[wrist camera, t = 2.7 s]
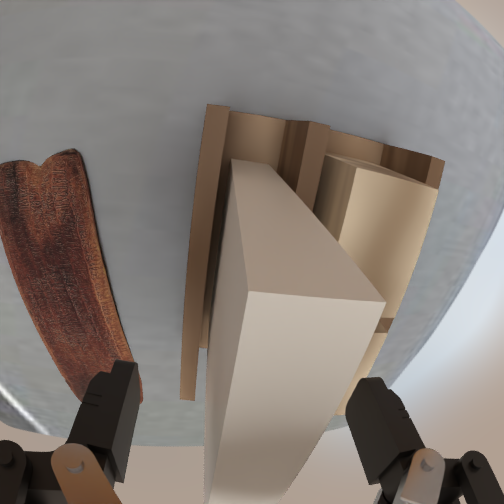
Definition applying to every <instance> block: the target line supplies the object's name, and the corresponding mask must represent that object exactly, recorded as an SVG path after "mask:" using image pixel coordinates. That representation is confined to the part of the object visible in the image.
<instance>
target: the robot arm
mask: <svg viewBox="0 0 504 504" xmlns="http://www.w3.org/2000/svg"><path fill="white" fill-rule="evenodd" d="M139 405H140V383H139V372H138V364H137V363H136V362H130V361H124V360H119V359H116V360H115V362H114V364H113V367H112V370H111V372H110V373H108V372H103V371H100V372H99V373H98V374H96V375H95V376H94V377H93V378H92V379H91V380H90V382H89V385H88V387H87V390H86V394H85V395H84V397H83V400H82V404H81V405H80V408H79V410H78V413H77V416H76V418H75V421H74V424H73V427H72V429H71V432H70V435H69V438H68V440H67V441H66V443H65V444H64V445H62V446H60V447H58V448H57V449H56V450H54V451H51V452H31V451H23V449H22V448H21V447H20V446H19V445H18V444H17V443H15V442H12V441H9V440H2V441H0V504H122V503H121V501H120V499H119V498H118V496H117V495H116V493H115V491H114V490H113V489H114V483H115V481H116V482H121V483H124V478H125V473H126V467H127V462H128V457H129V452H130V447H131V442H132V437H133V433H134V428H135V423H136V419H137V414H138V410H139ZM345 416H346V420H347V423H348V425H349V428H350V431H351V434H352V437H353V439H354V442H355V445H356V448H357V451H358V454H359V457H360V460H361V462H362V466H363V468H364V471H365V474H366V477H367V480H368V483H369V485H372V484H378V483H380V484H381V487H382V488H381V489H380V490H379V491H378V493H377V496H376V499H375V501H374V503H373V504H460V501H459V499H458V498H459V497H461V496H462V495H464V497H465V500H466V503H467V504H504V494H503V492H502V490H501V488H500V486H499V483H498V481H497V479H496V477H495V475H494V473H493V471H492V469H491V467H490V465H489V463H488V461H487V459H486V458H485V456H484V455H483V454H481V453H480V452H477V451H468V452H467V453H465V454H464V456H462V457H461V458H460V459H444V458H443V457H442V456H441V455H440V454H439V453H438V452H437V451H435V450H433V449H430V448H426V447H425V446H424V444H423V442H422V440H421V438H420V436H419V434H418V432H417V430H416V428H415V426H414V424H413V422H412V420H411V418H409V414H408V412H407V411H406V410H405V407H404V405H403V403H402V401H401V399H400V398H399V397H398V396H397V395H396V394H395V393H394V392H393V391H392V390H391V389H387V387H386V385H385V383H384V381H383V379H382V378H380V377H372V378H361V379H360V380H359V381H358V383H357V385H356V387H355V389H354V391H353V393H352V395H351V397H350V399H349V400H348V402H347V405H346V409H345Z"/></svg>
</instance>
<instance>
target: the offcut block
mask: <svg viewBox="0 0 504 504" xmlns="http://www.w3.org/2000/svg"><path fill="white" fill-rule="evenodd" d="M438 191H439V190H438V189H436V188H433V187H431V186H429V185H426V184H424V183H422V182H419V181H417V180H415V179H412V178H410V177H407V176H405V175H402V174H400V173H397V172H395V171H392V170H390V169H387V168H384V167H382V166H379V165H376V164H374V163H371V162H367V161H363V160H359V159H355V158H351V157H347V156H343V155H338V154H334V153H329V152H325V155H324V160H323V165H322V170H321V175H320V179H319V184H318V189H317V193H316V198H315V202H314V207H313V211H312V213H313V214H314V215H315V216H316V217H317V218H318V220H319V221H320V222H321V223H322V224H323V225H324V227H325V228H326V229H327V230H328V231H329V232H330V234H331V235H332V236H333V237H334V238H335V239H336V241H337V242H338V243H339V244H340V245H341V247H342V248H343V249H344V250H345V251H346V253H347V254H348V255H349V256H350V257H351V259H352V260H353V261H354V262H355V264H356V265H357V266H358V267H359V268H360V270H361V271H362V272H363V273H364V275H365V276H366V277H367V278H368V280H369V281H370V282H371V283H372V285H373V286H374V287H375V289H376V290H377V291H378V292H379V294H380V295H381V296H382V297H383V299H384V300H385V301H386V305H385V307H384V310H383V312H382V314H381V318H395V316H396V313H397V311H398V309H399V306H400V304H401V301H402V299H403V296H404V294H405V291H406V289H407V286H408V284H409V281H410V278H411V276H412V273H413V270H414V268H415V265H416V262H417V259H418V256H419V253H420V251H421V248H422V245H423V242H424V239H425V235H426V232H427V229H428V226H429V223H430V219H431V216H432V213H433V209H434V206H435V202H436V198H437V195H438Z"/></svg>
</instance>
